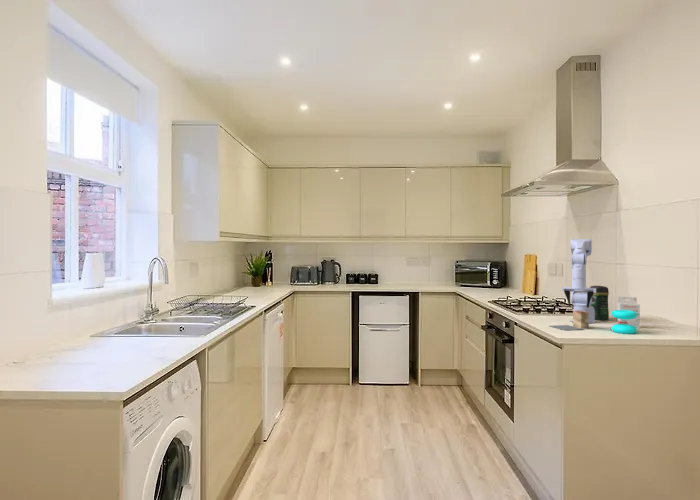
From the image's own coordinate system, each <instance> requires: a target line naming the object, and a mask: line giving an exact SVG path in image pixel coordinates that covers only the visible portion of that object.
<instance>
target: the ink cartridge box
mask: <svg viewBox="0 0 700 500" xmlns="http://www.w3.org/2000/svg"><path fill="white" fill-rule="evenodd" d="M617 298H618V300H617V310H629V311H634V312H636V313H637V316H636V318H634V319H628V320H627V319H618V318H617V324H629V325H632V326H634V327H636V329H640V324H641V323H640V316H641V315H640V312H641V309H640V305H641V304H639V303H638V302H637V301H638V300H637V298H638V297H637V296H636V297H633V296H618V297H617Z"/></svg>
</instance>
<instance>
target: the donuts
mask: <svg viewBox="0 0 700 500" xmlns="http://www.w3.org/2000/svg"><path fill="white" fill-rule="evenodd" d="M611 316H612V317H613V318H615V319H617V320H618V319H627V320H628V319H634V318H636V316H637V313H636V312H634V311H629V310H618V309H614V310H612V311H611ZM611 331H612V332H614V333H617V334H621V333H622V335H623V334H624V335H633V334H637V331H638V328H636V327H634V326H632V325H629V324H618V323H616V324H613V325H612V326H611Z"/></svg>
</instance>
